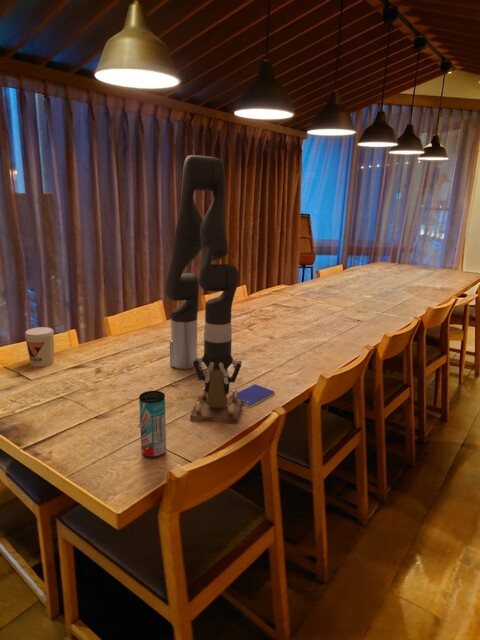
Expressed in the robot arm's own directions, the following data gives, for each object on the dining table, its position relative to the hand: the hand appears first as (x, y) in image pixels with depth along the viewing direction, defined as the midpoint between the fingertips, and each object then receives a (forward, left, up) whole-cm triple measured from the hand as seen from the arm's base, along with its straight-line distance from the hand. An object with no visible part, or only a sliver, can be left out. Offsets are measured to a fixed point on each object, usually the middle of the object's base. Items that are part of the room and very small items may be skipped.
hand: (217, 393), depth 128 cm
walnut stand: (0, 0, -6) cm, 6 cm away
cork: (0, 0, -3) cm, 3 cm away
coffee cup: (-67, +26, -6) cm, 72 cm away
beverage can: (-12, -23, -6) cm, 26 cm away
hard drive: (+9, +11, -6) cm, 16 cm away
